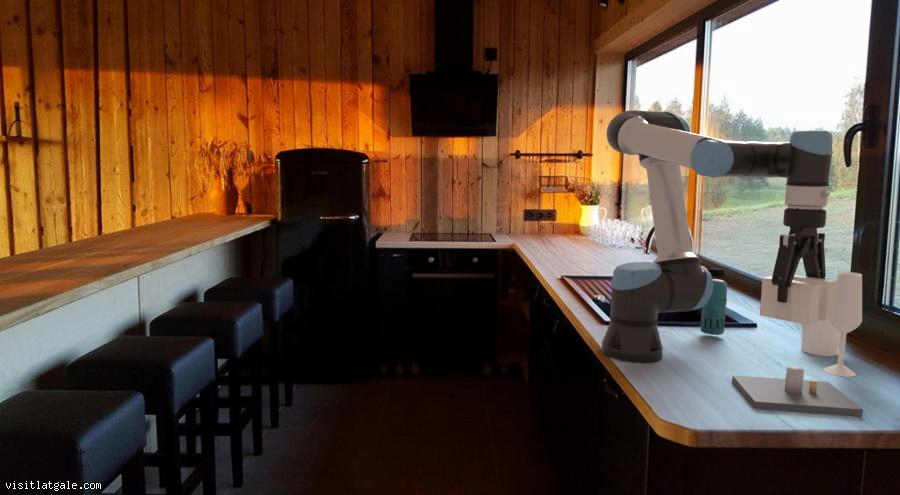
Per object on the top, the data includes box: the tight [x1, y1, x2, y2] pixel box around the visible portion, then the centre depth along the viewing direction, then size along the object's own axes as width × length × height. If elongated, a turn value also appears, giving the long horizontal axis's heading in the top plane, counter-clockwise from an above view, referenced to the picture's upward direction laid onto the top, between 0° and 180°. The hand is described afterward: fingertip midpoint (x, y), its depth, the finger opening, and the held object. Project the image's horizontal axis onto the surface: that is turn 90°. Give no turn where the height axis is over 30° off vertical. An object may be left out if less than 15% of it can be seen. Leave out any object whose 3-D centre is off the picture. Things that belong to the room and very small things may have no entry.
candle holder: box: [800, 320, 841, 358], centre depth 166 cm, size 10×10×12 cm
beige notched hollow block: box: [759, 274, 837, 325], centre depth 130 cm, size 10×10×8 cm
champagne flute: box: [823, 271, 863, 378], centre depth 149 cm, size 7×7×24 cm
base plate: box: [731, 365, 864, 418], centre depth 132 cm, size 20×16×6 cm
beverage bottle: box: [700, 267, 728, 336], centre depth 178 cm, size 6×7×20 cm
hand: (796, 314), depth 130 cm, fingers closed on beige notched hollow block, 10 cm apart
